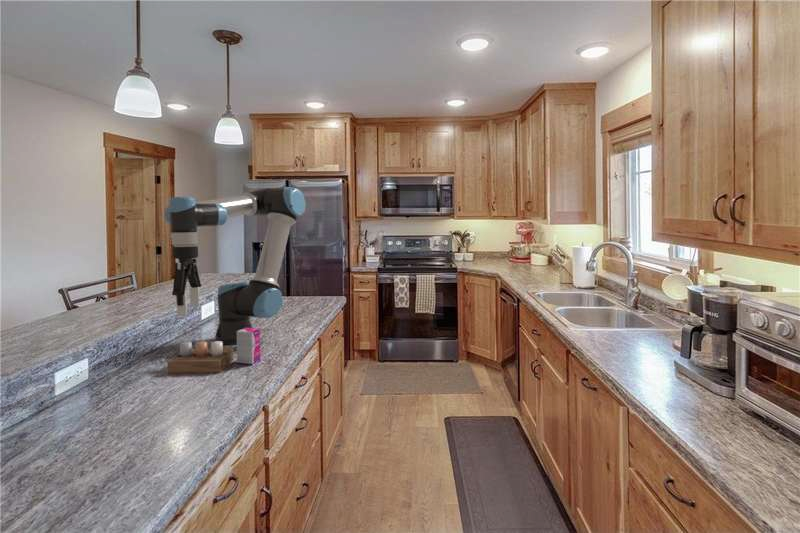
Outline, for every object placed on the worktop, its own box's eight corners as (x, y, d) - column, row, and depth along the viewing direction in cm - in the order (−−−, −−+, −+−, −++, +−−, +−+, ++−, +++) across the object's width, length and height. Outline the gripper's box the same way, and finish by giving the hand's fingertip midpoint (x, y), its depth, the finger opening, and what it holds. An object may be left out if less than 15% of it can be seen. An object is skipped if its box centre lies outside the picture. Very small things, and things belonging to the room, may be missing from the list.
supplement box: (252, 365, 152) (251, 332, 151) (236, 364, 154) (235, 331, 152) (261, 360, 158) (260, 327, 157) (245, 359, 159) (244, 327, 158)
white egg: (213, 355, 153) (213, 341, 153) (224, 354, 154) (224, 341, 153) (209, 358, 150) (209, 344, 149) (221, 358, 150) (220, 343, 149)
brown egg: (198, 355, 153) (197, 341, 153) (209, 355, 153) (208, 341, 153) (194, 358, 149) (193, 344, 149) (205, 358, 150) (204, 344, 149)
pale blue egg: (183, 355, 153) (182, 341, 152) (194, 355, 153) (193, 341, 152) (178, 358, 149) (177, 344, 149) (189, 358, 149) (189, 344, 149)
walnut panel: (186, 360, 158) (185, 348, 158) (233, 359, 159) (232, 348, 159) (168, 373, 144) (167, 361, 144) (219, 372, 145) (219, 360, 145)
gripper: (184, 243, 157) (188, 303, 160) (157, 248, 133) (162, 320, 135) (207, 242, 159) (211, 303, 161) (184, 248, 134) (189, 319, 137)
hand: (188, 311), depth 148 cm, fingers open, 13 cm apart
